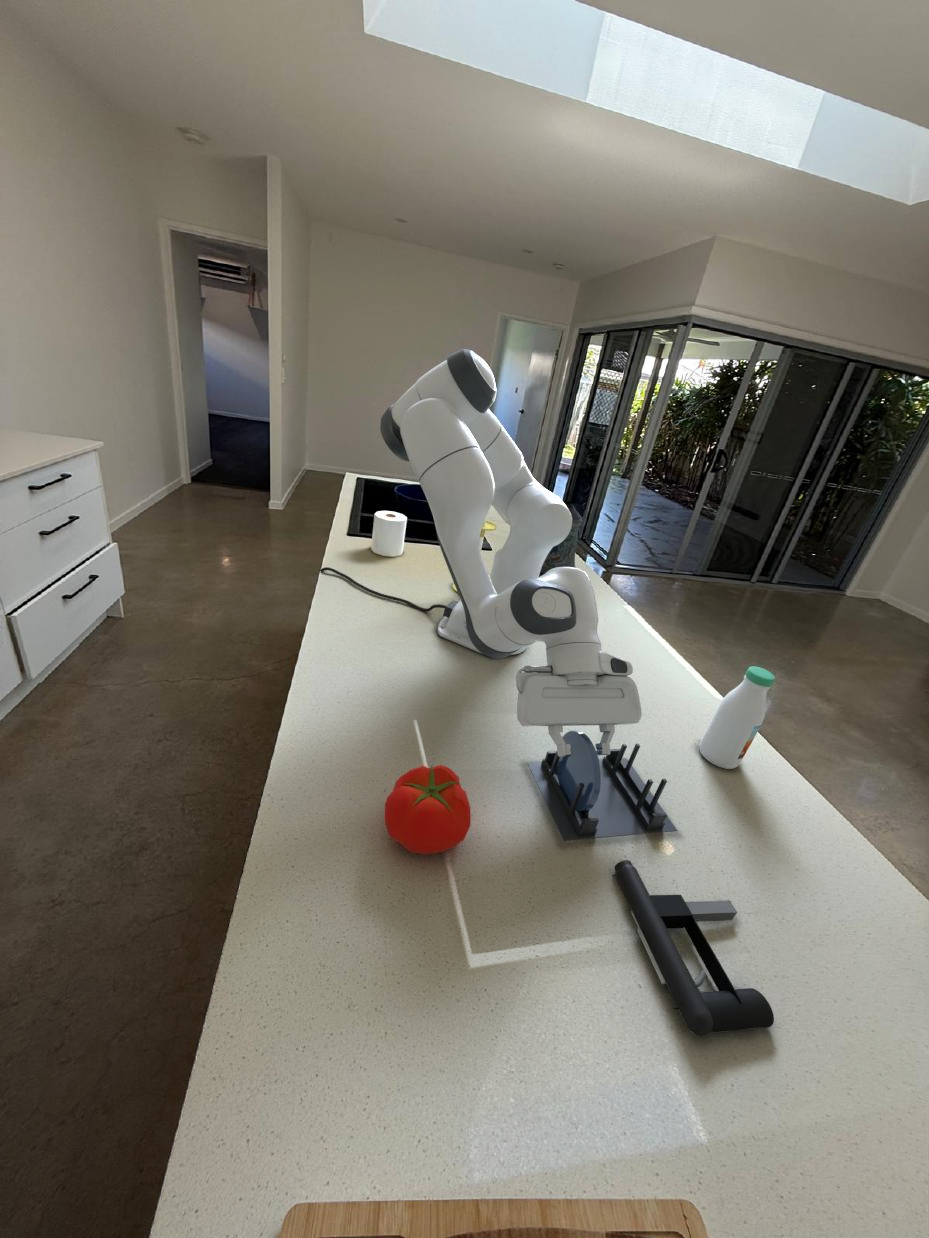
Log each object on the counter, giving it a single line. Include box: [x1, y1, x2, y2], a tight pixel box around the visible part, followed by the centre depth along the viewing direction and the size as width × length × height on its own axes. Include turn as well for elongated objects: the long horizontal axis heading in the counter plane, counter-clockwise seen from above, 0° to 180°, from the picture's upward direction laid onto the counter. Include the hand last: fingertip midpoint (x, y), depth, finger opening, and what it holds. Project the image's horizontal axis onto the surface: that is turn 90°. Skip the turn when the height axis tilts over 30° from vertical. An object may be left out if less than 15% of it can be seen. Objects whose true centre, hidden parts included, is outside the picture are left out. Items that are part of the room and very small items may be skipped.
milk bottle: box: [698, 665, 776, 770], centre depth 96 cm, size 8×8×20 cm
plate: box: [557, 730, 601, 811], centre depth 79 cm, size 12×1×12 cm, turn 14°
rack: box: [526, 743, 678, 842], centre depth 83 cm, size 16×20×8 cm
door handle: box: [611, 859, 775, 1037], centre depth 64 cm, size 3×20×16 cm
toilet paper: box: [370, 510, 408, 558], centre depth 164 cm, size 10×10×12 cm
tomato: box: [384, 764, 472, 855], centre depth 71 cm, size 13×12×8 cm
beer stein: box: [539, 499, 583, 577], centre depth 170 cm, size 16×19×25 cm
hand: (584, 755), depth 77 cm, fingers open, 5 cm apart
